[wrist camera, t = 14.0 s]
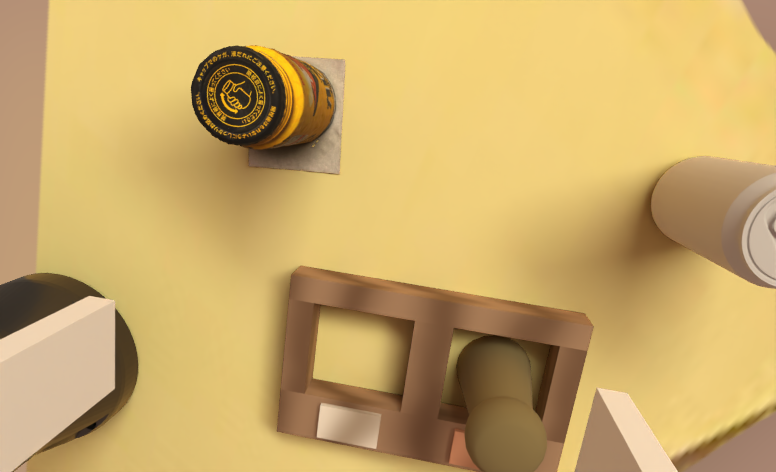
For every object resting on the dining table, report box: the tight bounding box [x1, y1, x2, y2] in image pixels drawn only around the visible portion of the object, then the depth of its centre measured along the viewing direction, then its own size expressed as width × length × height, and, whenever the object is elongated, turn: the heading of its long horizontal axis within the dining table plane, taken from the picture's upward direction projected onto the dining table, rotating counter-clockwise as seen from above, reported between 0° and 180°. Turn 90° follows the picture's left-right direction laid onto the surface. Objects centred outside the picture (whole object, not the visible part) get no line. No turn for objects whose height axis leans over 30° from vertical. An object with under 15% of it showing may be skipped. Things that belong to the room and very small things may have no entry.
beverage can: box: [651, 156, 776, 289], centre depth 31 cm, size 6×6×12 cm
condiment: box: [191, 45, 345, 174], centre depth 33 cm, size 7×8×12 cm
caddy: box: [277, 266, 594, 472], centre depth 41 cm, size 23×14×3 cm, turn 82°
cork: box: [457, 335, 547, 472], centre depth 36 cm, size 6×6×11 cm
